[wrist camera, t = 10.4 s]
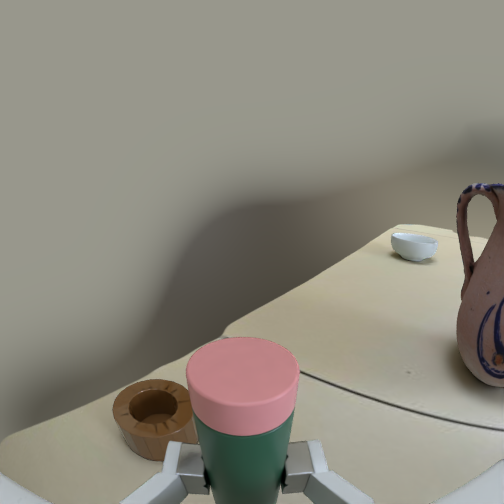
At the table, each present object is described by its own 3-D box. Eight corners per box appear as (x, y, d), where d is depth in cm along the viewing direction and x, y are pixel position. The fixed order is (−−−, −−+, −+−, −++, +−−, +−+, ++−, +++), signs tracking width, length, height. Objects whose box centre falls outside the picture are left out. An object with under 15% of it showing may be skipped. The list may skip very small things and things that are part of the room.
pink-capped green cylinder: (236, 545, 8) (212, 421, 5) (213, 511, 10) (171, 350, 7) (281, 526, 9) (323, 376, 6) (255, 495, 11) (261, 327, 8)
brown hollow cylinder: (134, 468, 17) (119, 444, 16) (119, 413, 23) (108, 387, 22) (213, 447, 20) (208, 423, 19) (184, 398, 27) (179, 372, 26)
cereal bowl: (443, 266, 71) (447, 244, 70) (399, 265, 74) (402, 241, 72) (422, 252, 88) (424, 233, 86) (383, 250, 90) (385, 231, 88)
